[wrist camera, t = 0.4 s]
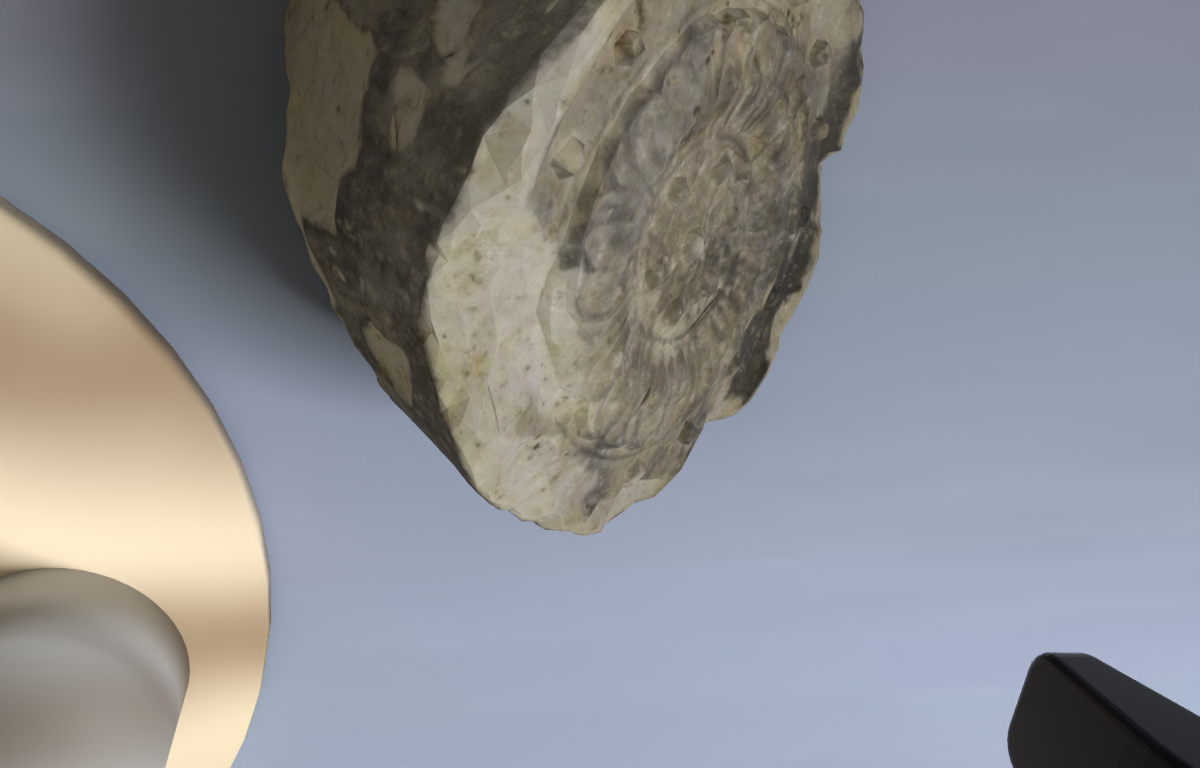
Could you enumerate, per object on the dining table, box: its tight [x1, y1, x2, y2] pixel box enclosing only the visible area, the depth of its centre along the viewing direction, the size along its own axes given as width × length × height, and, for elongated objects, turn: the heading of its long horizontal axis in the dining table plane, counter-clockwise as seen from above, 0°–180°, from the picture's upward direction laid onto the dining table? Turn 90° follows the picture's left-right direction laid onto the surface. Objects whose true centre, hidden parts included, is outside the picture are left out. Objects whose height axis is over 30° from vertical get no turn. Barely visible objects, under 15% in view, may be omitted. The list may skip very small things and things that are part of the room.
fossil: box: [282, 0, 864, 536], centre depth 19 cm, size 11×9×10 cm
